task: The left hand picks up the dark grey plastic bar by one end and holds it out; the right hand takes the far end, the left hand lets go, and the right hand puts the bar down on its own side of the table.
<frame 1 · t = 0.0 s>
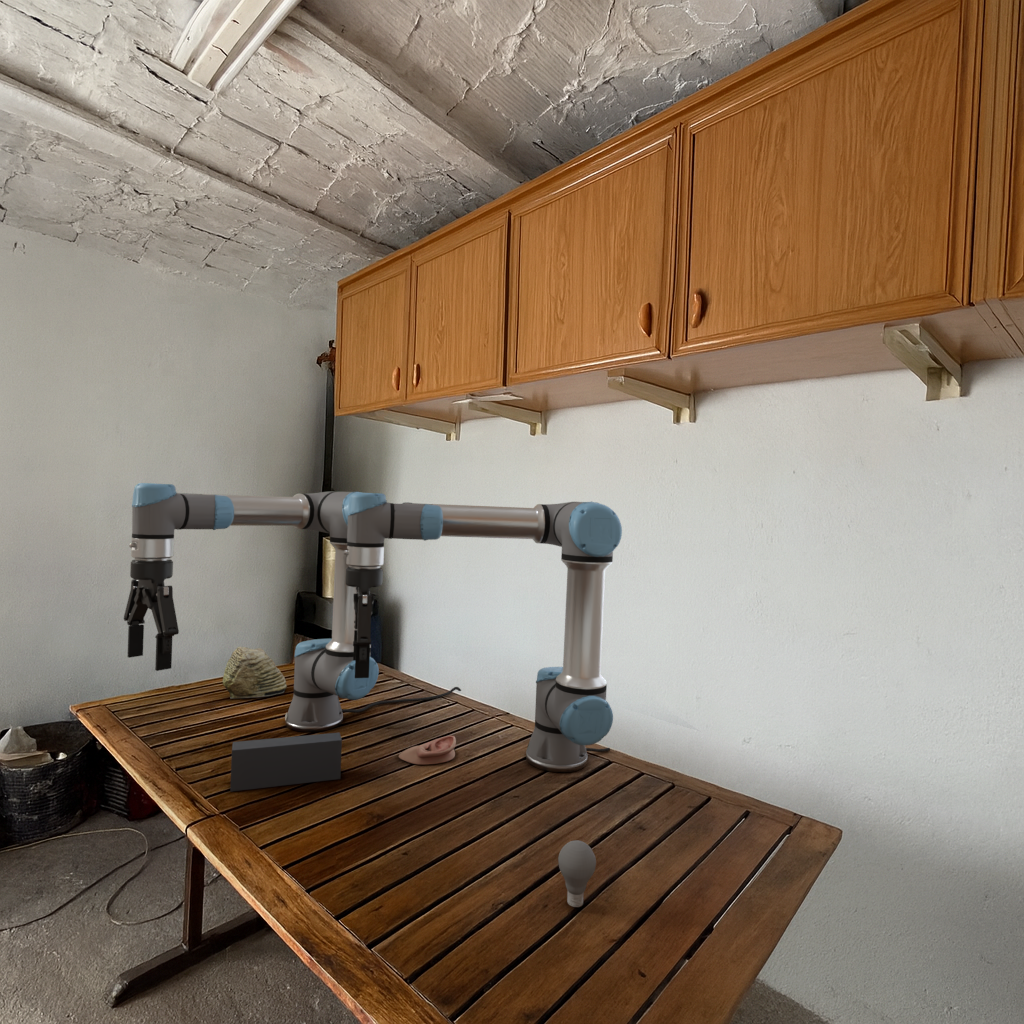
left hand: (148, 662, 129), 28 cm above the table, tool pointing down, fingers open, 13 cm apart
right hand: (360, 668, 132), 28 cm above the table, tool pointing down, fingers open, 13 cm apart
bar: (286, 780, 141), on the table
fossil: (254, 694, 198), on the table
anatomical model: (427, 756, 157), on the table
light bulb: (574, 905, 101), on the table
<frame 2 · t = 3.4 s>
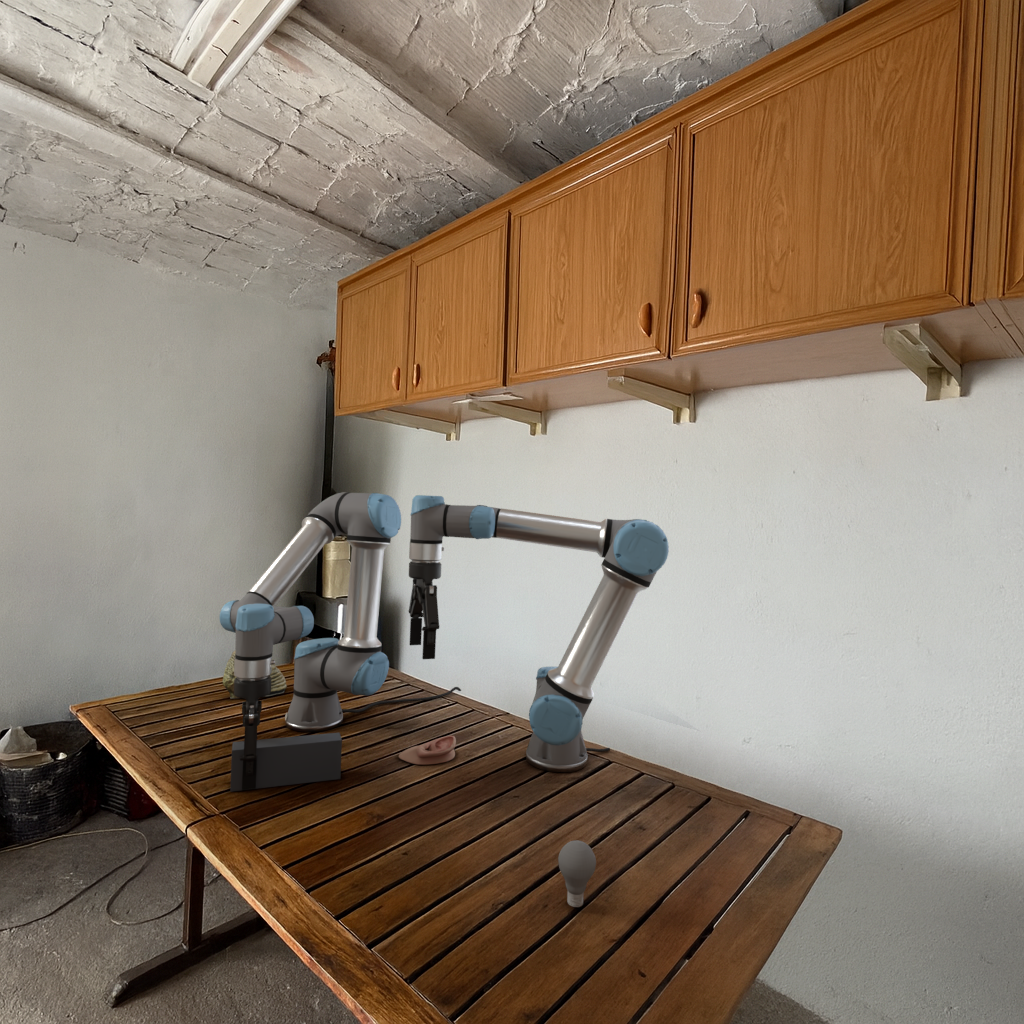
left hand: (249, 782, 138), 1 cm above the table, tool pointing down, fingers closed on bar, 5 cm apart
right hand: (421, 651, 148), 28 cm above the table, tool pointing down, fingers open, 13 cm apart
bar: (286, 780, 141), on the table, touching left hand
everything else where it was.
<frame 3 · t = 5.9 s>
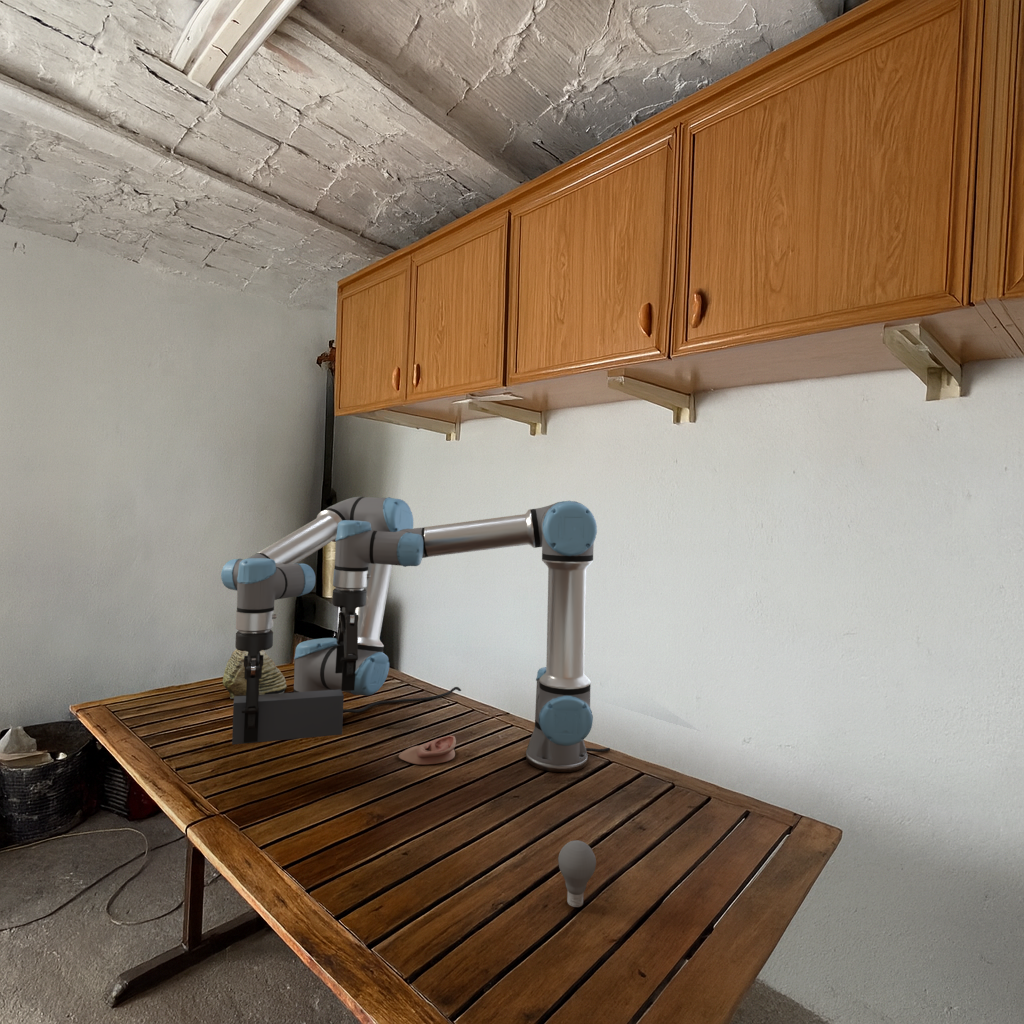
left hand: (250, 736, 138), 11 cm above the table, tool pointing down, fingers closed on bar, 5 cm apart
right hand: (344, 681, 144), 22 cm above the table, tool pointing down, fingers open, 13 cm apart
bar: (288, 735, 140), point 10 cm above the table, touching left hand
everything else where it was.
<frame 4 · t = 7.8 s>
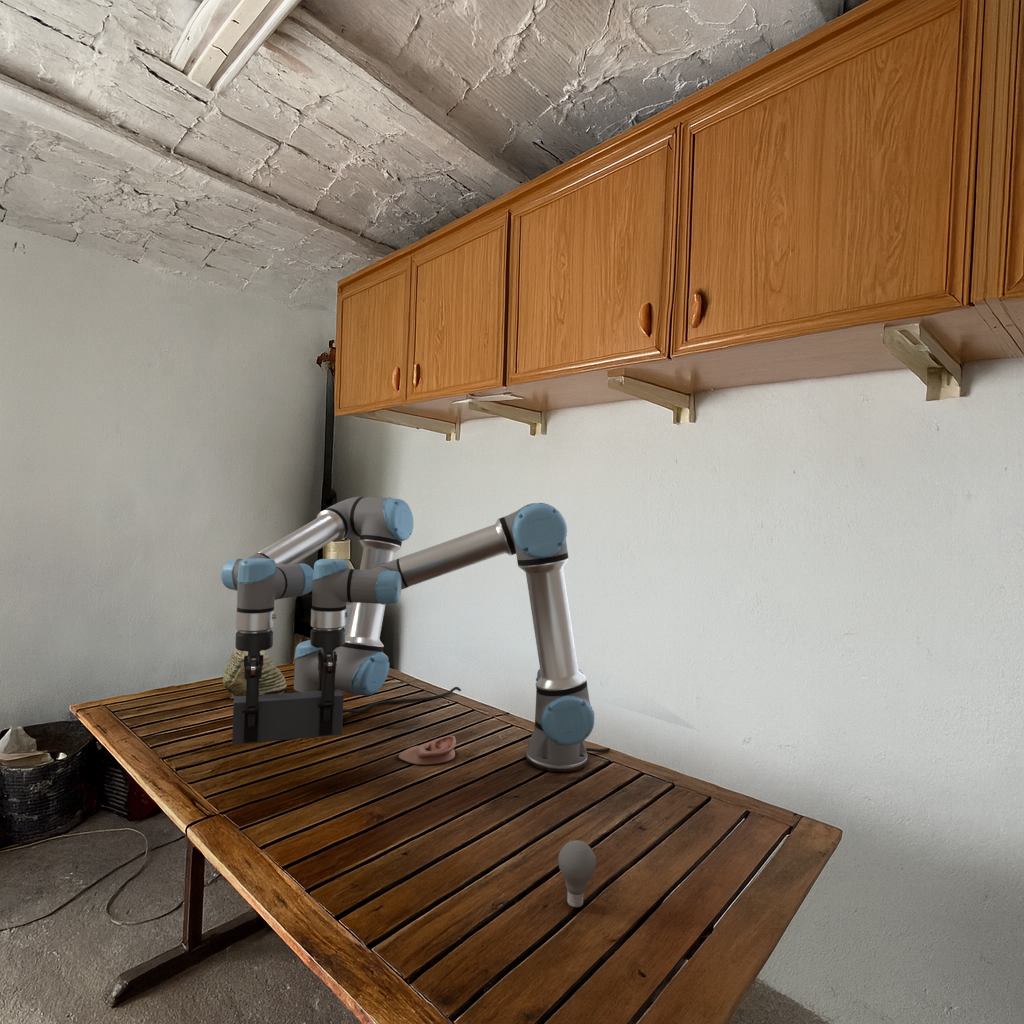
left hand: (250, 736, 138), 11 cm above the table, tool pointing down, fingers closed on bar, 5 cm apart
right hand: (324, 730, 143), 11 cm above the table, tool pointing down, fingers closed on bar, 5 cm apart
bar: (288, 735, 140), point 10 cm above the table, touching left hand, right hand
everything else where it was.
when the left hand's fingers open (11 cm above the table, at t = 8.4 s): bar stays where it is, held by the right hand.
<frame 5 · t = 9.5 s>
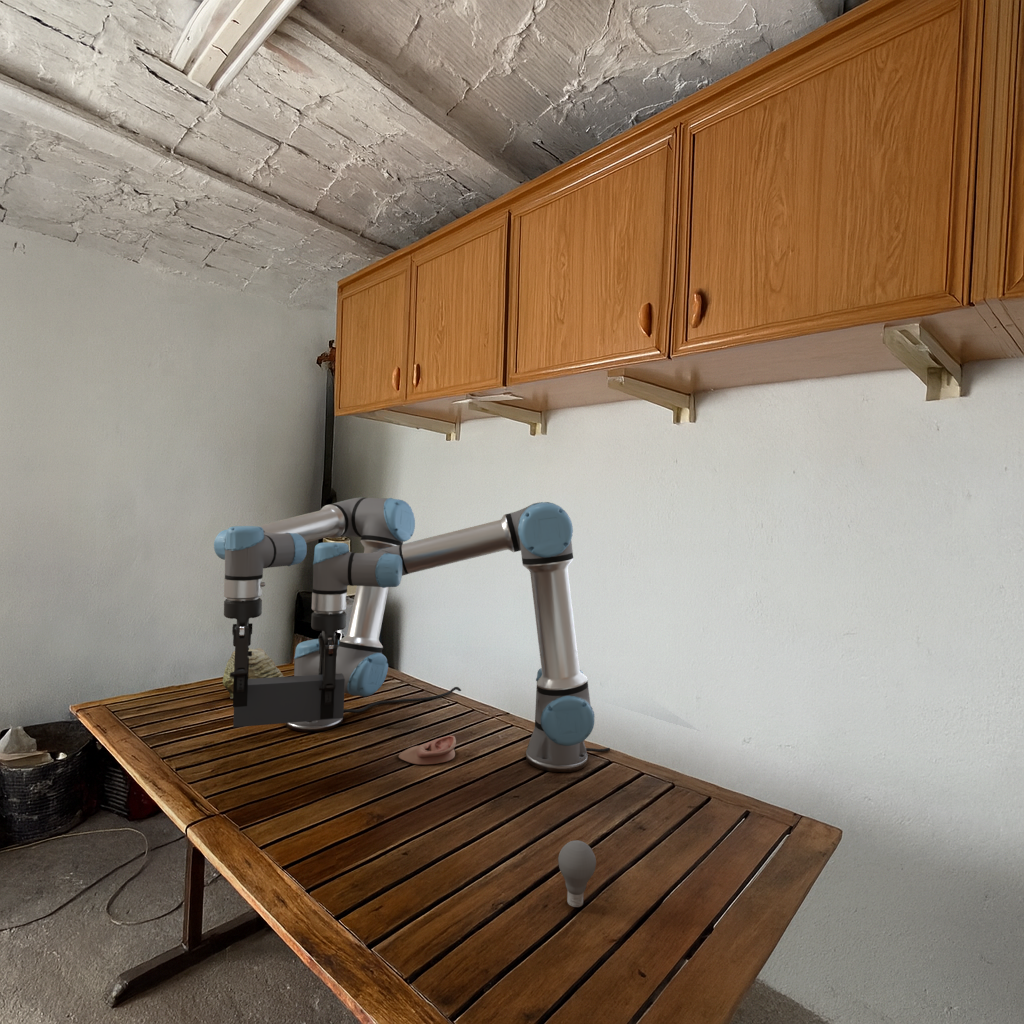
left hand: (240, 696, 137), 20 cm above the table, tool pointing down, fingers open, 13 cm apart
right hand: (325, 713, 143), 14 cm above the table, tool pointing down, fingers closed on bar, 5 cm apart
bar: (289, 719, 140), point 14 cm above the table, touching right hand
everything else where it was.
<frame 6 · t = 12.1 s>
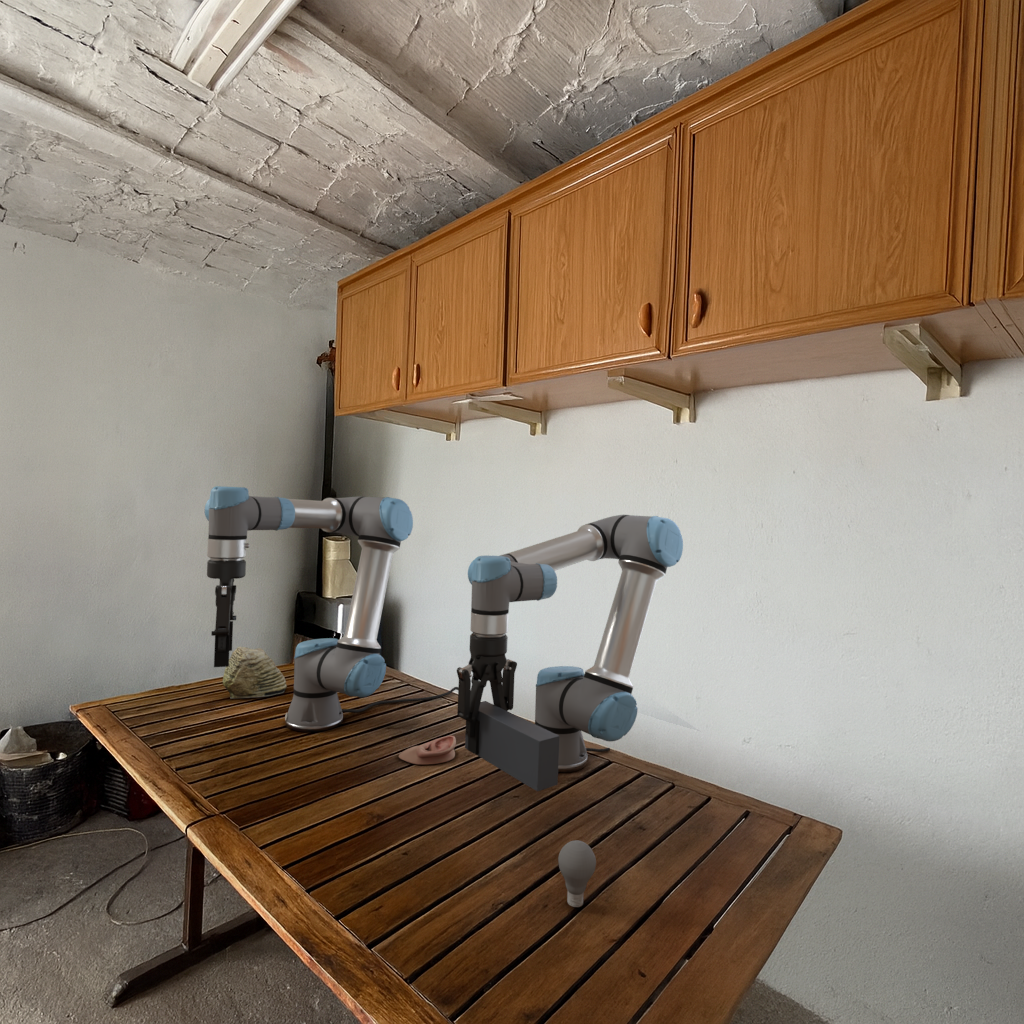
left hand: (223, 658, 135), 28 cm above the table, tool pointing down, fingers open, 13 cm apart
right hand: (484, 748, 127), 14 cm above the table, tool pointing down, fingers closed on bar, 5 cm apart
bar: (508, 765, 121), point 14 cm above the table, touching right hand
everything else where it was.
when the right hand's fingers open (2 cm above the table, at t = 16.5 s): bar drops 2 cm, on the table.
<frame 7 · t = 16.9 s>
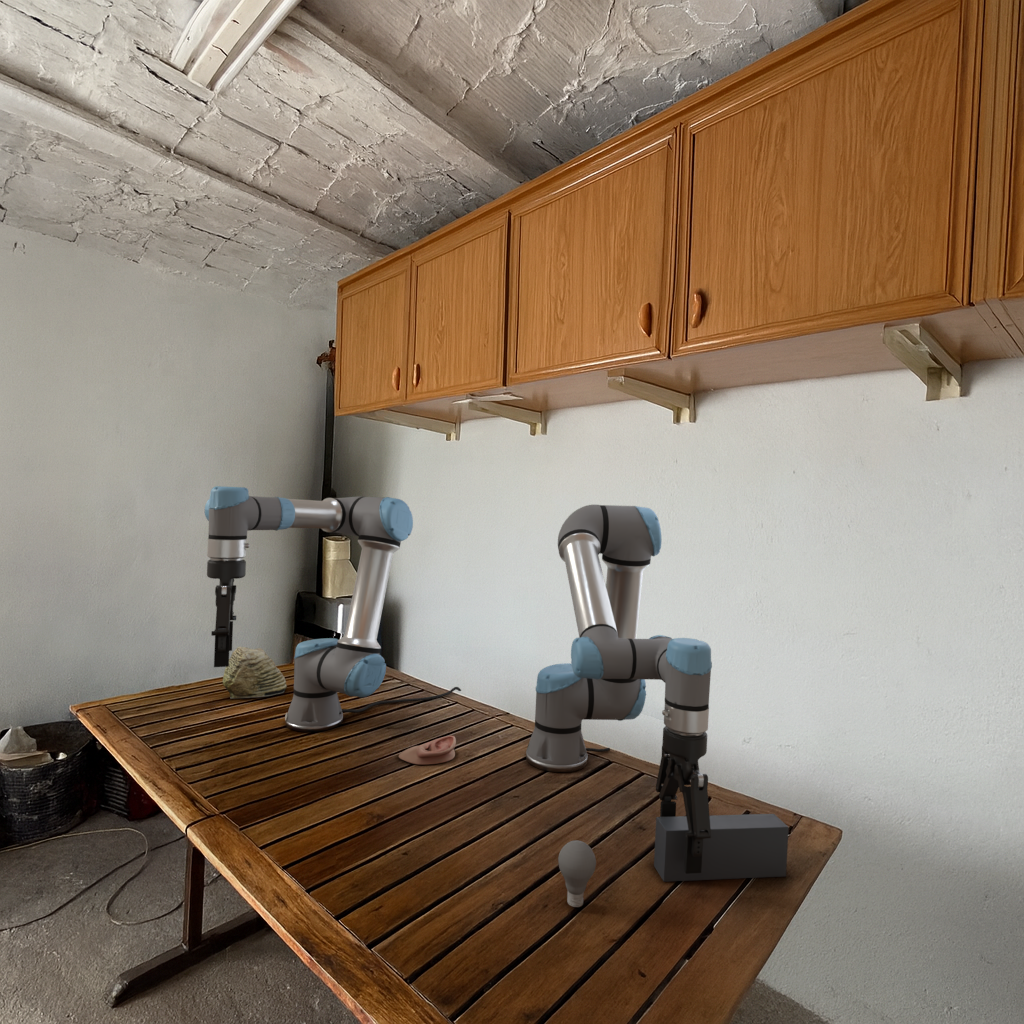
left hand: (223, 658, 135), 28 cm above the table, tool pointing down, fingers open, 13 cm apart
right hand: (679, 853, 111), 3 cm above the table, tool pointing down, fingers open, 10 cm apart
bar: (719, 871, 113), on the table
everything else where it was.
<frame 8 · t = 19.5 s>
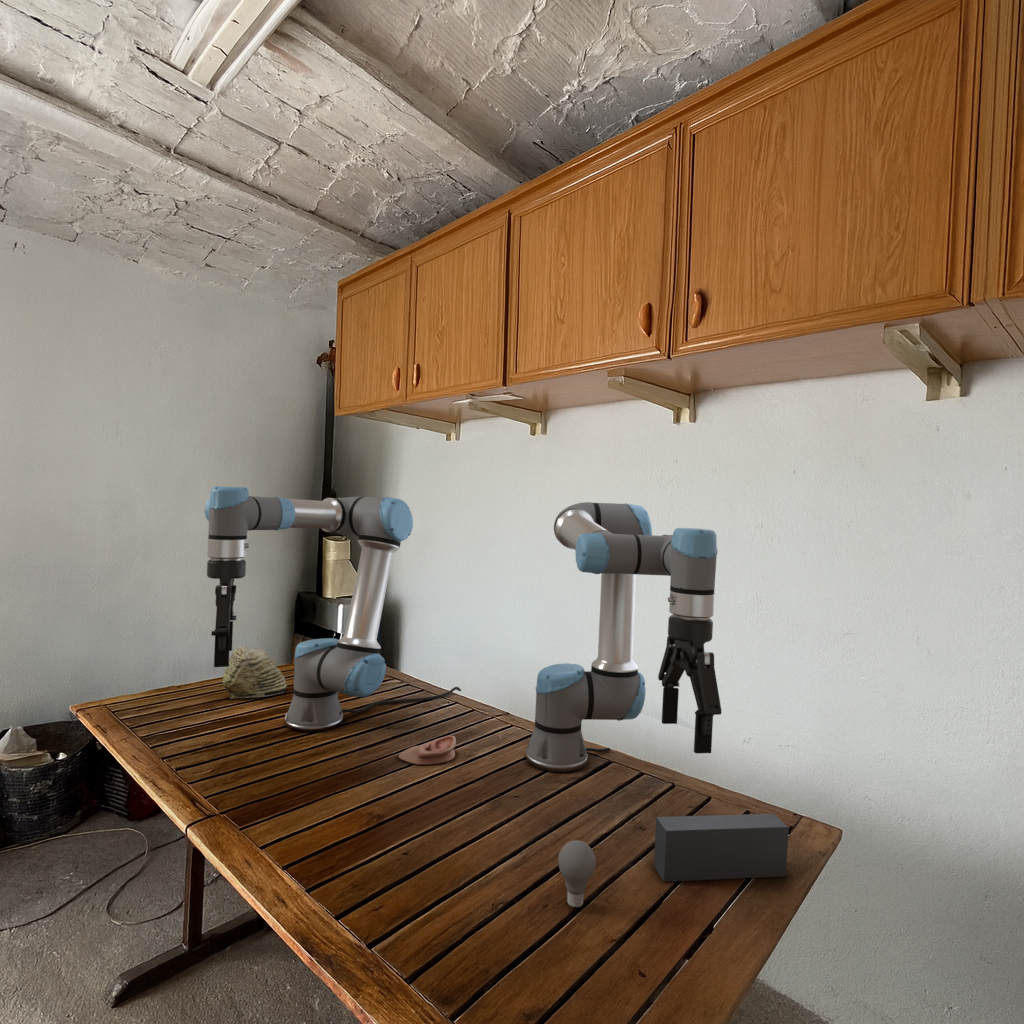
left hand: (223, 658, 135), 28 cm above the table, tool pointing down, fingers open, 13 cm apart
right hand: (684, 737, 111), 24 cm above the table, tool pointing down, fingers open, 13 cm apart
nothing on the table moved.
at the end: bar inside the target area (7.8 cm from its centre), on the table; the left hand is holding nothing; the right hand is holding nothing; bar at rest at the end (0.0 cm/s) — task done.
